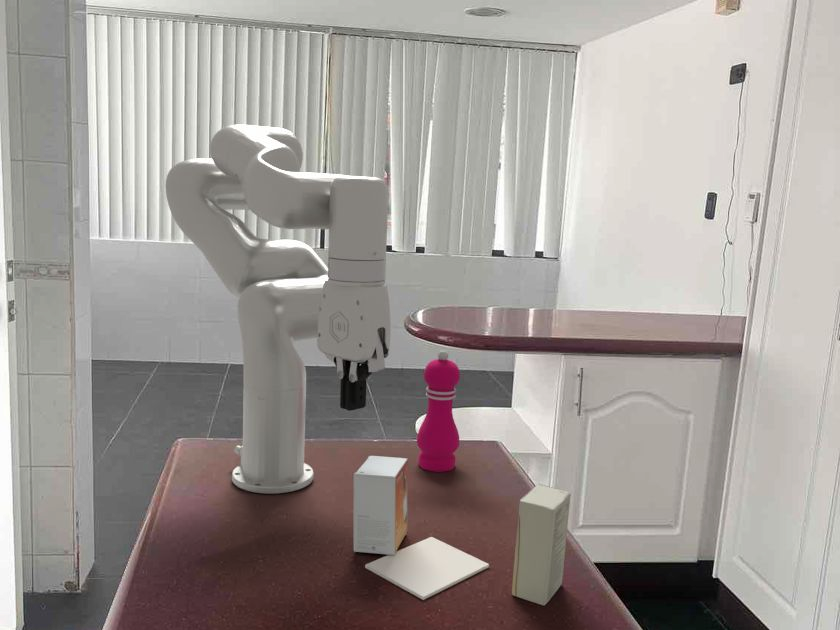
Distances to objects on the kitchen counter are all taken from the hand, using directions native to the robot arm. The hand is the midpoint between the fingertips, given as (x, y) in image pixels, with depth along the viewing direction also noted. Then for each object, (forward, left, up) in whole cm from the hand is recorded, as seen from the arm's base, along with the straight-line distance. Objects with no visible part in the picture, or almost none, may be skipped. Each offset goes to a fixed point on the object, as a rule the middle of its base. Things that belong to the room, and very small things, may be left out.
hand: (352, 407), depth 106 cm
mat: (+15, 0, -17) cm, 23 cm away
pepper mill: (-8, +27, -17) cm, 33 cm away
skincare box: (+28, +6, -17) cm, 33 cm away
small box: (+7, 0, -17) cm, 18 cm away
